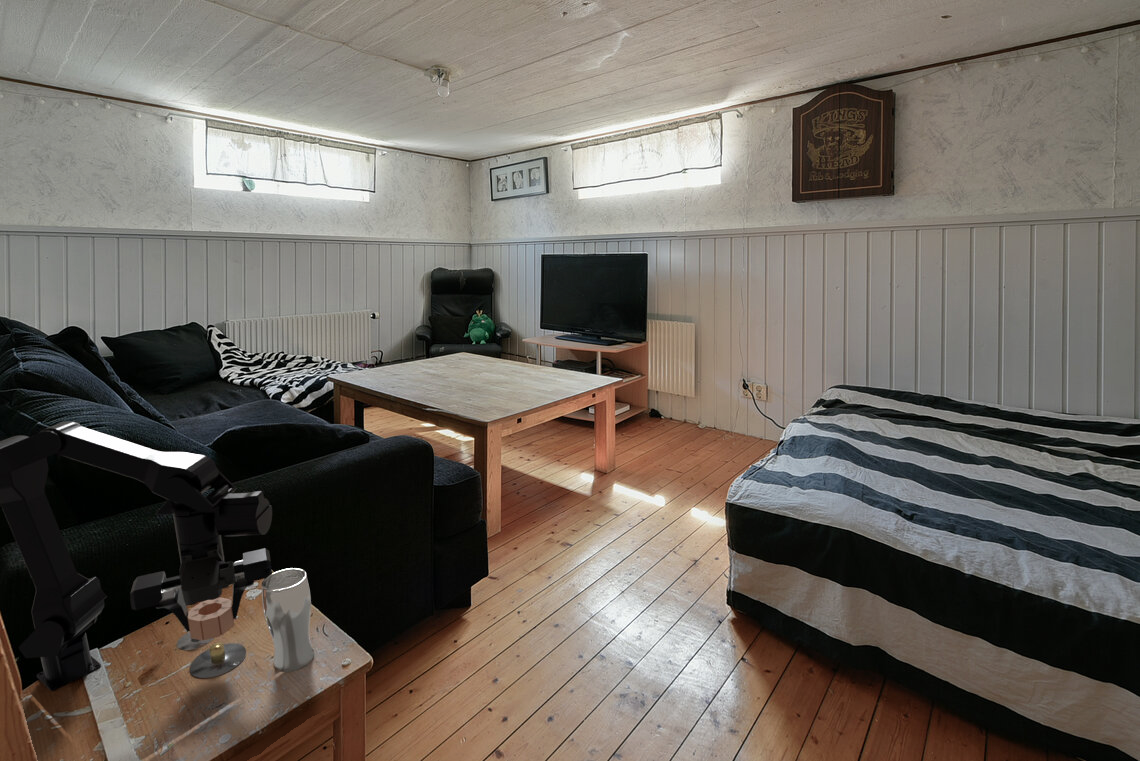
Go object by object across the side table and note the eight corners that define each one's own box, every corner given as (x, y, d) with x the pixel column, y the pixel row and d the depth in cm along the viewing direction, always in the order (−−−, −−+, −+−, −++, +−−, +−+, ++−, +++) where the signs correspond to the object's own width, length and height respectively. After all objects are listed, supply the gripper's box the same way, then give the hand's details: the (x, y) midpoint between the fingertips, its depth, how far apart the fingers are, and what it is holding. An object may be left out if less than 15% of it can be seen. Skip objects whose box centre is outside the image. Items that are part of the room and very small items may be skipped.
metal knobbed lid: (170, 644, 99) (168, 631, 99) (206, 625, 104) (204, 613, 104) (187, 656, 96) (185, 644, 96) (224, 636, 101) (222, 624, 101)
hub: (180, 668, 94) (177, 652, 93) (230, 640, 100) (228, 625, 100) (206, 686, 89) (203, 670, 89) (256, 656, 96) (254, 641, 95)
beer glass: (299, 677, 91) (289, 593, 88) (261, 671, 93) (249, 588, 90) (325, 648, 98) (317, 569, 95) (289, 643, 99) (280, 565, 96)
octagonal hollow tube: (190, 644, 89) (186, 624, 89) (192, 623, 95) (189, 604, 94) (234, 632, 92) (231, 613, 92) (234, 612, 97) (231, 594, 97)
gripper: (116, 577, 78) (134, 675, 82) (268, 543, 88) (279, 633, 91) (128, 542, 88) (144, 631, 91) (264, 515, 97) (274, 597, 100)
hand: (212, 623), depth 93 cm, fingers closed on octagonal hollow tube, 6 cm apart
